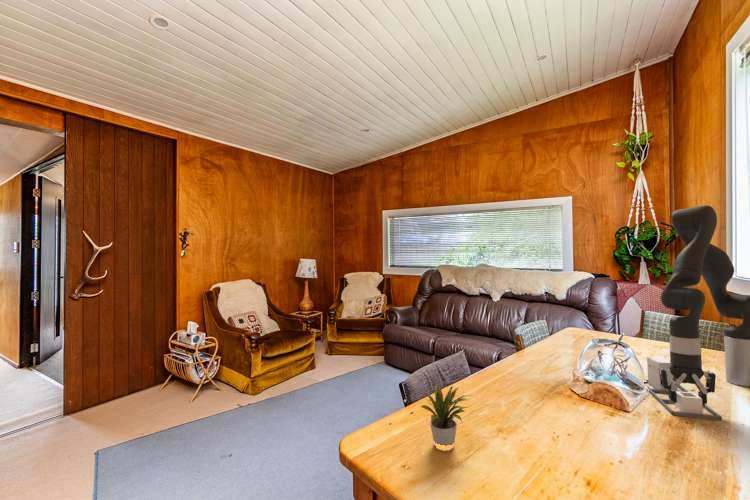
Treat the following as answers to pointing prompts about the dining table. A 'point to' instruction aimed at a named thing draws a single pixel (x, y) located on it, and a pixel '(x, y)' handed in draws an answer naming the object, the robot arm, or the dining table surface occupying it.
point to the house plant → (444, 416)
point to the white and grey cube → (689, 402)
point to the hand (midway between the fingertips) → (687, 403)
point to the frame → (663, 401)
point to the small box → (657, 371)
